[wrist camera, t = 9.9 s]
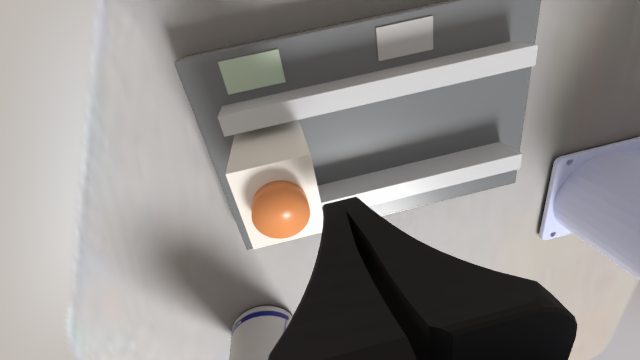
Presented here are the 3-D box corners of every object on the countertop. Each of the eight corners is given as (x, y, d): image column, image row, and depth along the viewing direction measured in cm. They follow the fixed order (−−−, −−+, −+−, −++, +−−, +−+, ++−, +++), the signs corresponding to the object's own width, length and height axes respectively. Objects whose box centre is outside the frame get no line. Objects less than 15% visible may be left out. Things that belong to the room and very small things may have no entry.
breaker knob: (298, 118, 17) (313, 162, 12) (312, 181, 19) (330, 241, 14) (234, 133, 17) (223, 183, 12) (255, 195, 19) (252, 261, 14)
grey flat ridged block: (515, -14, 18) (577, -21, 14) (496, 170, 24) (537, 197, 20) (183, 57, 17) (162, 68, 13) (248, 231, 23) (245, 271, 19)
